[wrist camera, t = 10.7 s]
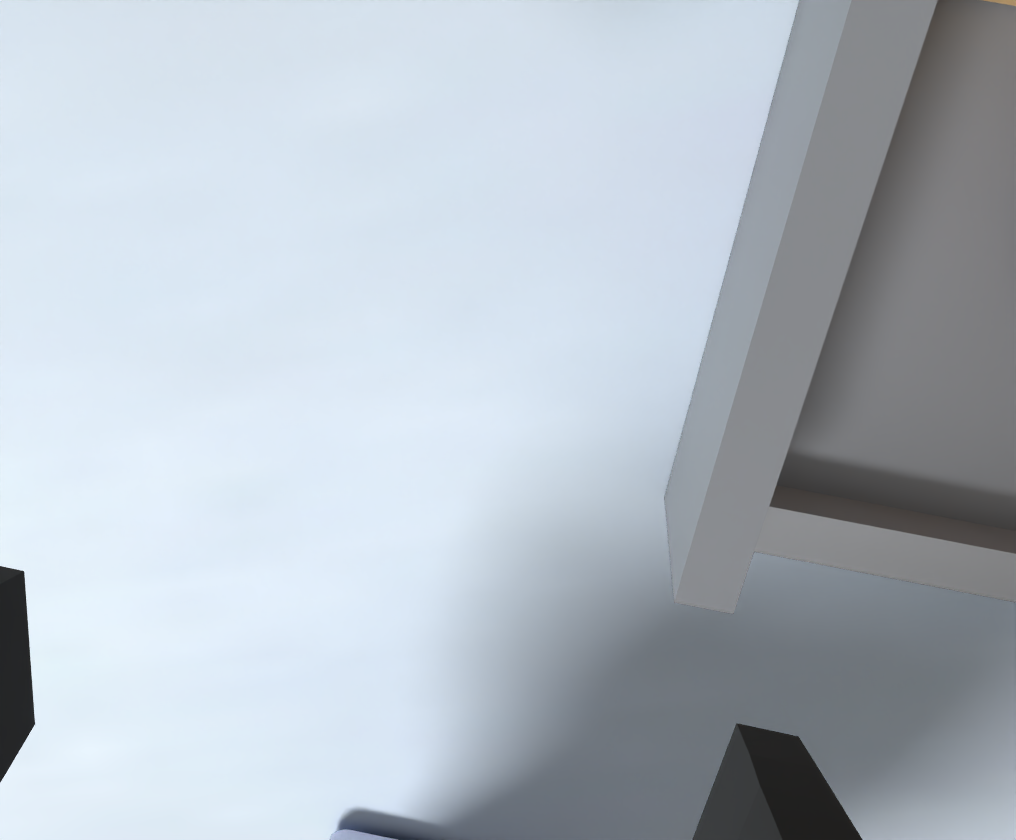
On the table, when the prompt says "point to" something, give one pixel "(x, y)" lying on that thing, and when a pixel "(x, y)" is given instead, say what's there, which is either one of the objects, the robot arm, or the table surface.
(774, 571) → the table surface
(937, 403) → the lane
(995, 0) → the pusher
